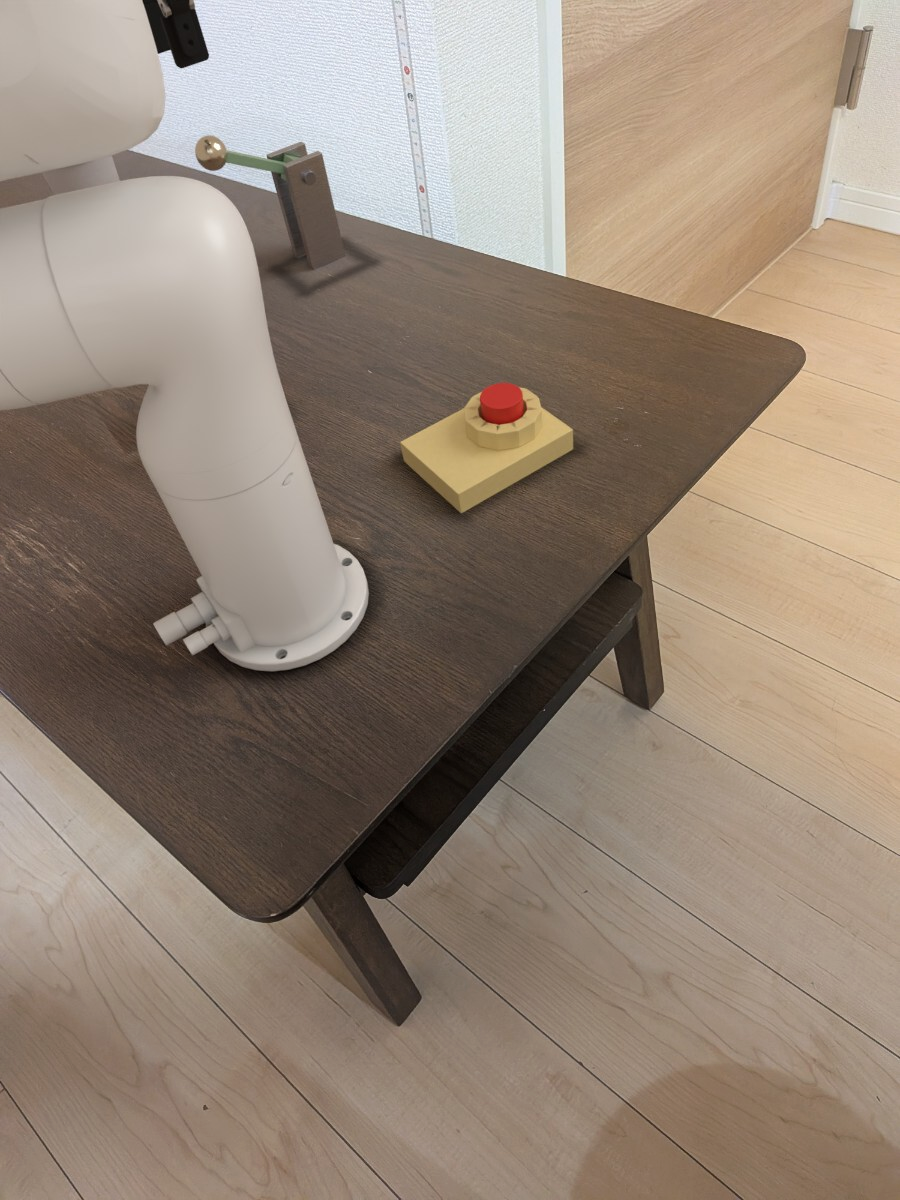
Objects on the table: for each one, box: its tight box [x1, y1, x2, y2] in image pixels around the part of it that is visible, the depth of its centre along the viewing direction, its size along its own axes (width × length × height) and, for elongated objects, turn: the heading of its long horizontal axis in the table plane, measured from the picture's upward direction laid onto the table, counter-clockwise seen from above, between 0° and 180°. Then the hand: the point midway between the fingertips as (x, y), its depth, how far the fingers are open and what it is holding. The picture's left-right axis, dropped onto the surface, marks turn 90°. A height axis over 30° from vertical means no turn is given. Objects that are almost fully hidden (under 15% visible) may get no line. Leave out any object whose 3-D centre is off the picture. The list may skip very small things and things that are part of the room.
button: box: [480, 382, 524, 425], centre depth 70 cm, size 4×4×2 cm
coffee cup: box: [41, 155, 121, 195], centre depth 102 cm, size 10×10×15 cm
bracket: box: [266, 141, 346, 271], centre depth 94 cm, size 9×8×13 cm
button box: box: [399, 386, 574, 514], centre depth 71 cm, size 12×9×4 cm
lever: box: [194, 135, 299, 181], centre depth 87 cm, size 13×3×3 cm, turn 124°
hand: (179, 54), depth 78 cm, fingers open, 5 cm apart
